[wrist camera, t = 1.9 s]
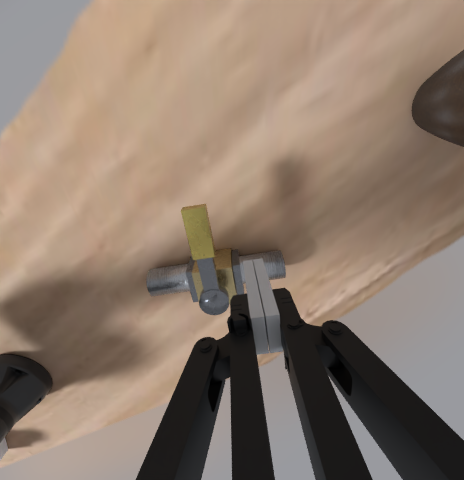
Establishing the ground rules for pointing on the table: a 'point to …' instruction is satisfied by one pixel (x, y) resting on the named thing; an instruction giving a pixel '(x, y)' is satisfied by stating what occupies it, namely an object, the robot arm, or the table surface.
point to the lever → (205, 259)
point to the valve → (226, 268)
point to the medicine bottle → (3, 448)
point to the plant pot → (443, 102)
